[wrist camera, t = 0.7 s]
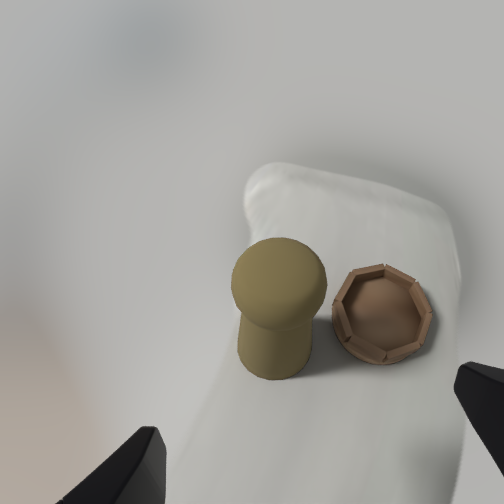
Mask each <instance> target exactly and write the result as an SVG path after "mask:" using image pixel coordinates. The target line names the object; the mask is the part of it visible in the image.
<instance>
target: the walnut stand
mask: <svg viewBox="0 0 504 504" xmlns="http://www.w3.org/2000/svg"><path fill="white" fill-rule="evenodd" d="M415 280H416V279H414V278H412V277H410V276H409V275H407V274H405V273H403V272H401V271H399V270H397V269H395V268H393V267H391V266H389V265H387V264H386V266H385V267H384V265H383V264H379V265H374V266H369V267H364V268H359V269H354V270H352V272H350V273H349V275H348V276H347V278H346V280H345V282H344V283H343V285H342V287H341V289H340V290H339V292H338V294H337V295H336V297H335V299H334V302H333V304H332V306H333V307H332V322H333V327H334V331H335V333H336V335H337V337H338V339H339V341H340V342H341V344H342V345H343V346H344V347H345V349H346V350H347V351H348V352H350V353H351V354H352V355H353V356H355V357H357V358H358V359H360V360H362V361H365V362H367V363H371V364H377V365H387V364H392V363H396V362H398V361H400V360H402V359H404V358H405V357H407V356H408V355H409V354H412V353H415V352H416V351H417V350H418V349H419V348H420V347H421V346H422V345H423V343H424V340H425V337H426V334H427V331H428V328H429V325H430V322H431V319H432V316H433V314H431V312H432V309H431V307H430V305H429V303H428V301H427V298H426V296H425V294H424V292H423V290H422V288H421V286H420V284H419V282H415Z"/></svg>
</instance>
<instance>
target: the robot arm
mask: <svg viewBox="0 0 504 504" xmlns="http://www.w3.org/2000/svg"><path fill="white" fill-rule="evenodd" d="M454 392H455V394H456V396H457V398H458V400H459V401H460V403H461V405H462V407H463V409H464V411H465V413H466V415H467V417H468V419H469V421H470V422H471V424H472V426H473V428H474V429H475V431H476V432H477V434H478V435H479V437H480V439H481V440H482V442H483V443H484V445H485V446H486V448H487V449H488V451H489V453H490V454H491V456H492V458H493V459H494V461H495V463H496V464H497V466H498V468H499V469H500V471H501V473H502V474H503V476H504V369H500V368H496V367H491V366H487V365H483V364H479V363H475V362H467V363H465V364H462V365H461V366H460V367H459V369H458V372H457V376H456V379H455V383H454ZM165 495H166V446H165V444H164V442H163V439H162V437H161V435H160V433H159V430H158V429H157V428H156V427H154V426H143V427H141V428H139V429H138V430H137V431H136V432H135V433H134V434H133V435H132V436H131V437H130V438H129V439H128V440H127V441H126V442H125V443H124V444H122V445H121V446H120V447H119V448H118V449H117V450H116V451H115V452H114V453H113V454H112V455H111V456H109V458H107V459H106V460H105V461H104V462H103V463H102V464H101V465H100V466H98V467H97V468H96V469H95V470H94V471H93V472H92V473H91V474H89V475H88V476H87V477H86V478H85V479H84V480H83V481H82V482H80V483H79V484H78V485H77V486H76V487H75V488H74V489H72V490H71V491H70V492H69V493H68V494H67V495H65V496H64V497H63V500H59V501H58V502H57V503H56V504H165Z"/></svg>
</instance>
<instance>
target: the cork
mask: <svg viewBox="0 0 504 504" xmlns="http://www.w3.org/2000/svg"><path fill="white" fill-rule="evenodd" d="M231 290H232V294H233V297H234V300H235V303H236V306H237V307H238V309H239V310H240V311H241V312H242V313H241V320H240V328H239V335H238V354H239V357H240V360H241V362H242V363H243V365H244V366H245V367H246V369H247V370H248V371H250V372H251V373H253V374H254V375H256V376H257V377H260V378H264V379H267V380H283V379H285V378H288V377H291V376H294V375H295V374H296V373H297V372H299V371H300V370H301V369H303V367H304V366H305V364H306V363H307V361H308V360H309V357H310V353H311V348H312V317H314V316H315V315H316V313H317V312H318V310H319V309H320V307H321V305H322V304H323V302H324V299H325V295H326V290H327V278H326V273H325V267H324V266H323V264H322V262H321V260H320V259H319V257H318V256H317V255H316V253H314V252H313V251H312V250H311V249H310V248H309V247H308V246H307V245H305V244H303V243H301V242H299V241H297V240H293V239H288V238H269V239H266V240H262V241H259V242H257V243H256V244H254V245H252V246H251V247H249V248H248V249H247V250H246V251H245V252H244V253H243V254H242V255H241V256H240V257H239V259H238V260H237V263H236V265H235V267H234V269H233V273H232V282H231Z"/></svg>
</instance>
